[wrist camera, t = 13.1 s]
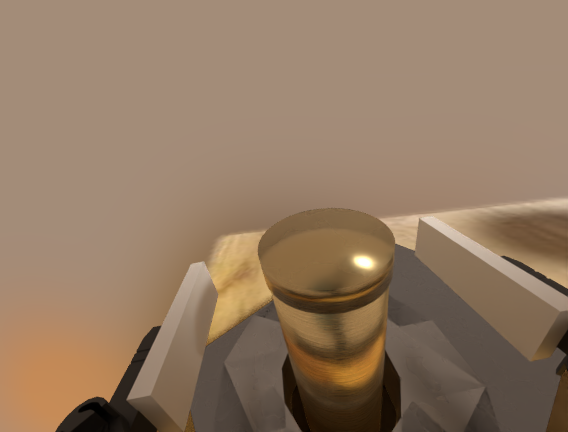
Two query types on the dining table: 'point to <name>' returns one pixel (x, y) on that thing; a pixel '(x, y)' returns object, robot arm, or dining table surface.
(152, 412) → the robot arm
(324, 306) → the amber cylindrical peg
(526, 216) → the dining table surface
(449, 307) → the jig
